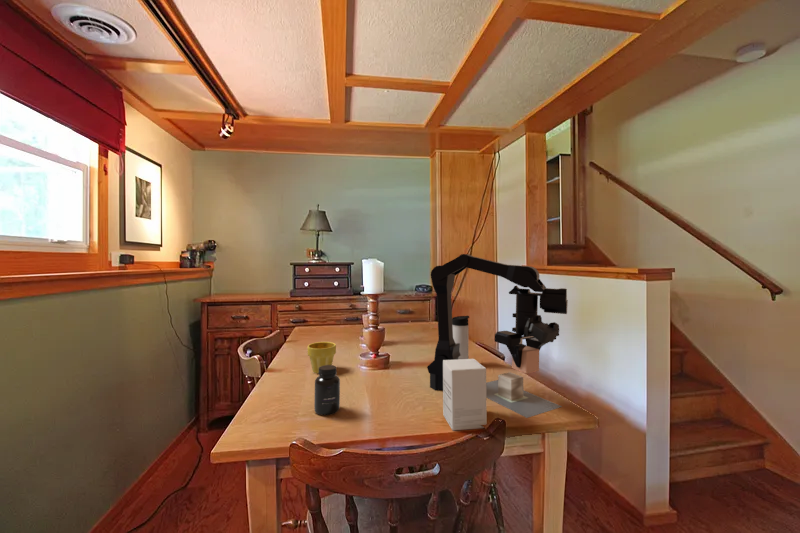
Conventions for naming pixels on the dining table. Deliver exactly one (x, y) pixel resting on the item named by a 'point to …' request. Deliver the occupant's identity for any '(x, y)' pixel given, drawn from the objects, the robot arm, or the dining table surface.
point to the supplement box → (464, 394)
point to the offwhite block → (510, 386)
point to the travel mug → (461, 334)
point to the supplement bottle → (327, 391)
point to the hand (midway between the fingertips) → (525, 365)
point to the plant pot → (321, 354)
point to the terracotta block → (528, 360)
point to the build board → (520, 401)
